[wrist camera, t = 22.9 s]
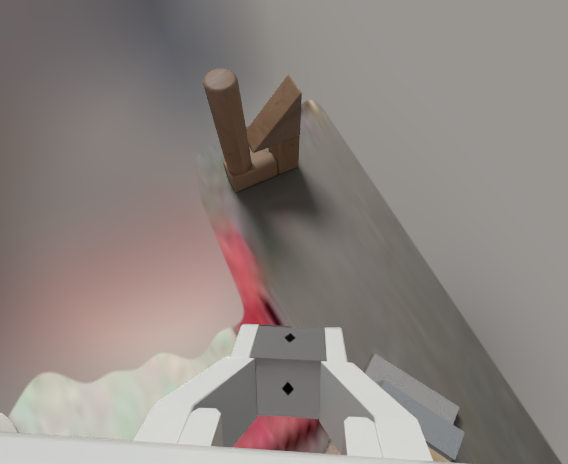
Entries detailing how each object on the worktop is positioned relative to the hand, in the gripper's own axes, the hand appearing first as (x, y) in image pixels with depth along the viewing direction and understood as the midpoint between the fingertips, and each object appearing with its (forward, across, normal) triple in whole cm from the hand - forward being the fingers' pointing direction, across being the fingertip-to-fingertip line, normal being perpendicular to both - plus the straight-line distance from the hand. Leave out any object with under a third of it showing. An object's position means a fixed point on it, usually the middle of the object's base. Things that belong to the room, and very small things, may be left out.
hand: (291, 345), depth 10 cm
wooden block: (+42, +7, -1) cm, 42 cm away
